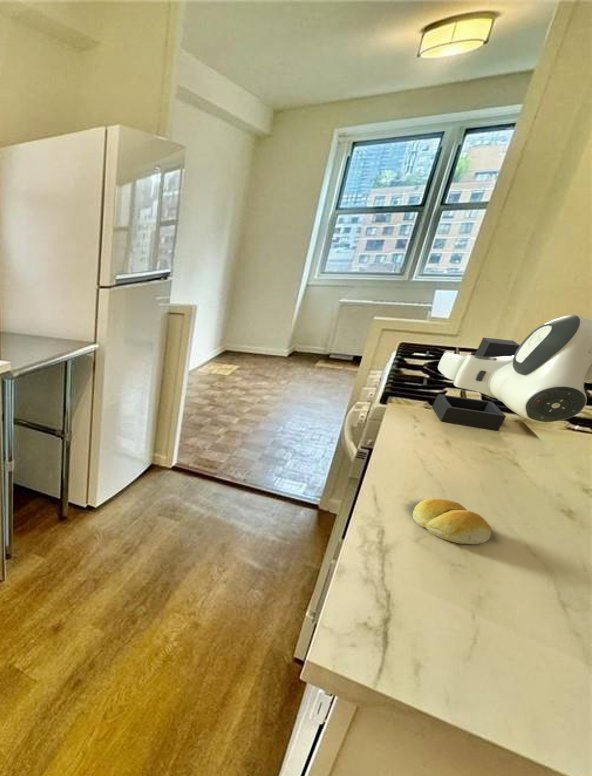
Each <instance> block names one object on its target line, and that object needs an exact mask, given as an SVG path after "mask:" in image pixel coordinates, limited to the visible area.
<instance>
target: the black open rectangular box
mask: <svg viewBox="0 0 592 776" xmlns="http://www.w3.org/2000/svg"><path fill="white" fill-rule="evenodd" d="M432 409H433V412H434V413H435V414H436V416H437V417H438V419H439V421H440V422H442V423H449V424H454V425H461V426H467V427H471V428H472V427H473V428H479V429H486V430H491V431H499V430H500V429H501V427H502V425H503V423H504V421H506V418H507V416H506V414H504V412H503V411H502V410H501V409H500V407H498V405H496V404H495V403H494V401H492V400H491V401H489V400H483V399H476V398H469V397H462V396H455V395H448V394H441V393H438V394H437V396H436V397H435V400H434V402H433V404H432Z"/></svg>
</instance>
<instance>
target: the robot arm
mask: <svg viewBox="0 0 592 776" xmlns="http://www.w3.org/2000/svg"><path fill="white" fill-rule="evenodd" d="M519 345H520V346H519V348H518V349H517V351H516V353H515V355H514V356H501V357H481V356H476V355H475V354H462V353H461V354H460V353H452V352H446V353H443V355H442V356H441V357H440V360H439V362H438V365H437V370H438V371H439V372H440V373H441V375H443V376H445V378H447V379H448V380H451V381H453V386H454V387H456V388H459V389H463V390H466V391H467V390H468V391H471V392H476V393H479V394H483V395H486V396H487V397H490V398H494V399H497V400H498V401H500V402H502V403H503V405H504V406H505V407H507V408H508V409H509V410H511V411H512V412H513V413H515V414H517V415H518V416H520V417H521V418H524V419H527V420H529V421H532V422H538V423H555V422H561V421H565V420H569V419H571V418H573V417H575V416H576V415H578V414H579V413H581V412H582V411H583V410H584V409H585V407H586V406H587V401H588V397H587V394H586V391H585V382H586V383H589V384H592V318H589V317H585V316H579V315H576V314H569V315H565V316H561V317H557V318H555V319H552V320H550V321H548V322H546V323H544V324H542V325H540V326H538V327H536V328H535V329H534V330H532V331H531V332H530V333H529V334H528V335H527V336H526V337H525V338H524V339H523V341H522V342H521V343H520V344H519Z"/></svg>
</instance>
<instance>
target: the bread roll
mask: <svg viewBox="0 0 592 776" xmlns="http://www.w3.org/2000/svg"><path fill="white" fill-rule="evenodd" d="M412 518H413V520H414V521H415V522H416V524H418V525H419V526H420V527H422V528H424V529H427V531H428V532H429V533H431V534H432V535H434V536H436V537H438V538H440V539H442V540H445V541H447V542H448V541H449V542H453V543H456V544H463V545H478V544H479V545H480V544H483V543H486V542H487V541H489V539H490V538H491V535H492V528H491V526H490V524H489V522H488V521H486V519H485V518H484V517H483V516H482V515H480V514H479V513H477V512H474V511H471V510H468V509H466V508H465V506H463V504H461V503H459V502H457V501H455V500H450V499H447V498H437V497H435V498H427V499H423V500H422V501H420V502H419V503H417V504H416V505H415V507H414V509H413V510H412Z"/></svg>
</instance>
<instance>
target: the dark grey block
mask: <svg viewBox="0 0 592 776" xmlns="http://www.w3.org/2000/svg"><path fill="white" fill-rule="evenodd" d="M520 345H521V344H519V343H517V342H516V341H514V340H511V339H503V338H502V339H501V338H494V337H493V338H491V337H482V339H481V341H480V343H479V345H478V347H477V349H476V351H475V353H474V355H476V356H481V357H501V356H514V355H515V353H516V351H517V349H518V348H519V346H520Z"/></svg>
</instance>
